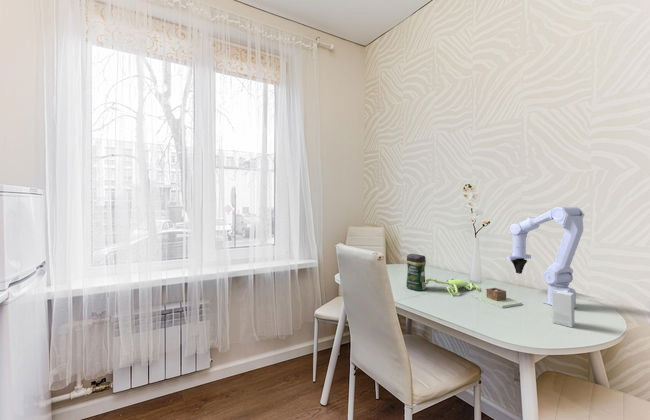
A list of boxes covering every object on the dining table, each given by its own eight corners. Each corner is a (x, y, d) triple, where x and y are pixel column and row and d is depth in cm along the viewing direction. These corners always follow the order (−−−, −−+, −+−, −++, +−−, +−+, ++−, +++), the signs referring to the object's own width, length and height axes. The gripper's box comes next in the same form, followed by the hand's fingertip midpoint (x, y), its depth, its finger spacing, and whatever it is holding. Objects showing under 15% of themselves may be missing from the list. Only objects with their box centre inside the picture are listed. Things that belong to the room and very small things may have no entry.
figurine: (420, 288, 158) (420, 278, 158) (455, 282, 170) (455, 272, 169) (448, 298, 141) (448, 287, 141) (484, 290, 153) (484, 280, 153)
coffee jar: (403, 288, 158) (403, 253, 157) (412, 285, 163) (412, 252, 162) (419, 292, 150) (419, 256, 150) (428, 289, 155) (428, 254, 155)
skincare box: (574, 324, 109) (575, 292, 109) (572, 328, 106) (572, 295, 106) (554, 319, 114) (554, 289, 114) (551, 322, 111) (551, 291, 111)
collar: (506, 299, 135) (506, 291, 135) (496, 301, 133) (496, 292, 133) (495, 296, 140) (495, 287, 140) (486, 297, 138) (486, 288, 138)
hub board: (522, 304, 131) (522, 293, 131) (501, 308, 127) (501, 296, 127) (491, 294, 146) (491, 284, 146) (472, 296, 142) (472, 286, 142)
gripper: (522, 245, 156) (521, 270, 156) (501, 246, 151) (501, 272, 152) (535, 246, 149) (534, 273, 150) (514, 248, 145) (513, 275, 145)
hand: (518, 273), depth 150 cm, fingers closed
